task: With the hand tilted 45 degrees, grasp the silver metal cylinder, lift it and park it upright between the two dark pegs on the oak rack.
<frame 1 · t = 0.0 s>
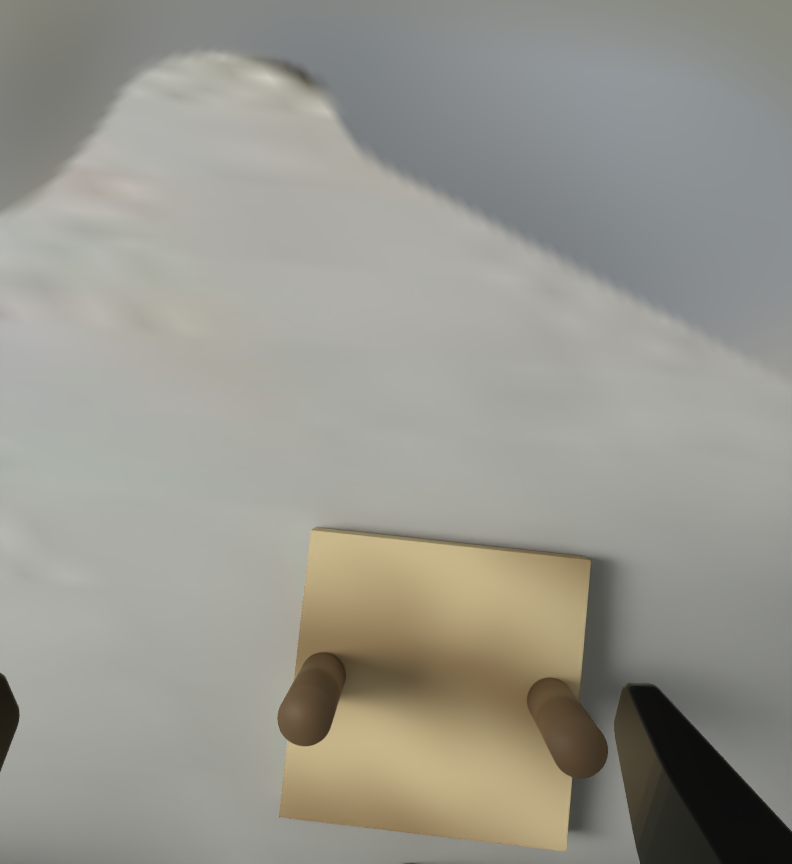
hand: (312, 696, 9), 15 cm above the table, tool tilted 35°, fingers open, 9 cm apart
peg rack: (434, 677, 24), on the table
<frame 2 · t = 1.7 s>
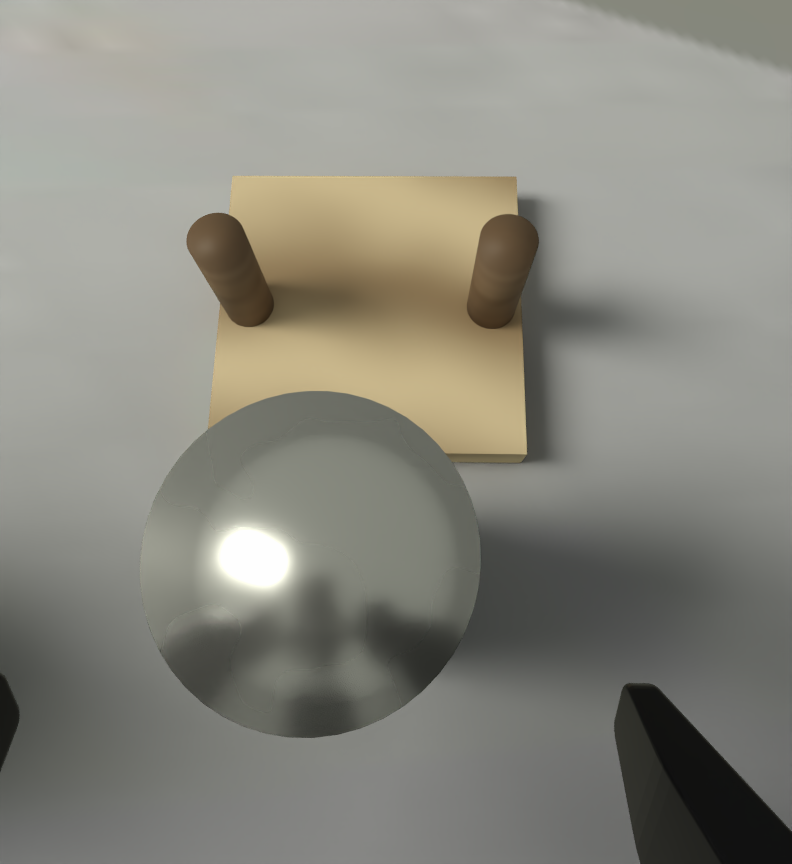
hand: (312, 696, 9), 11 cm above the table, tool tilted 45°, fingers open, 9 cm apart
peg rack: (371, 321, 23), on the table
silver metal cylinder: (365, 586, 20), on the table
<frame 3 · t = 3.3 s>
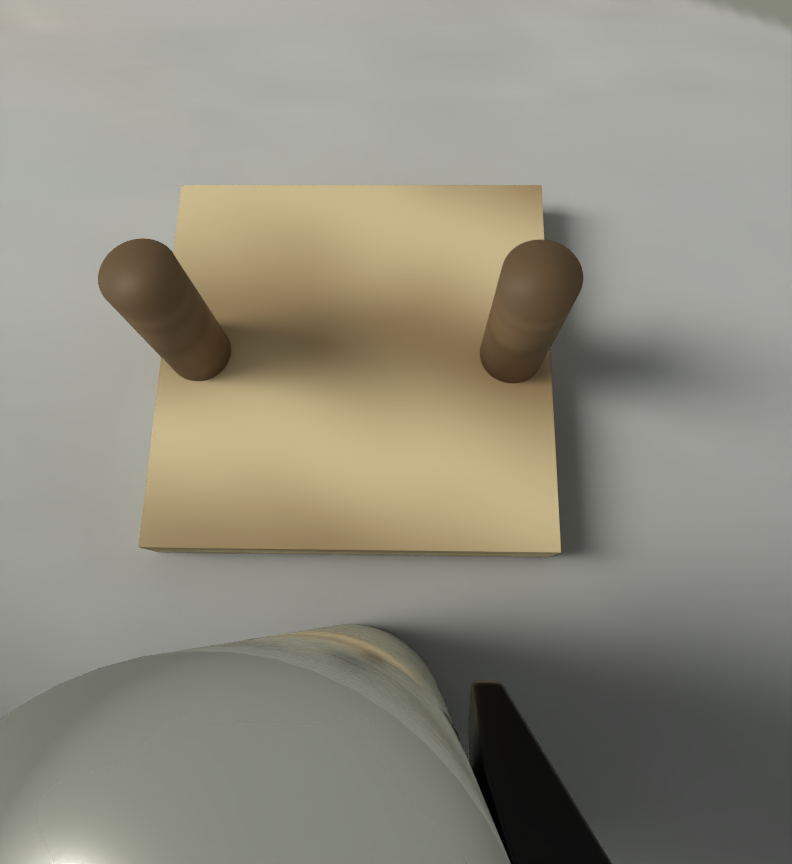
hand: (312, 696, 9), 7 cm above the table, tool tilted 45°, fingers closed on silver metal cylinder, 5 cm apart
peg rack: (358, 369, 18), on the table
silver metal cylinder: (348, 725, 15), on the table, touching gripper
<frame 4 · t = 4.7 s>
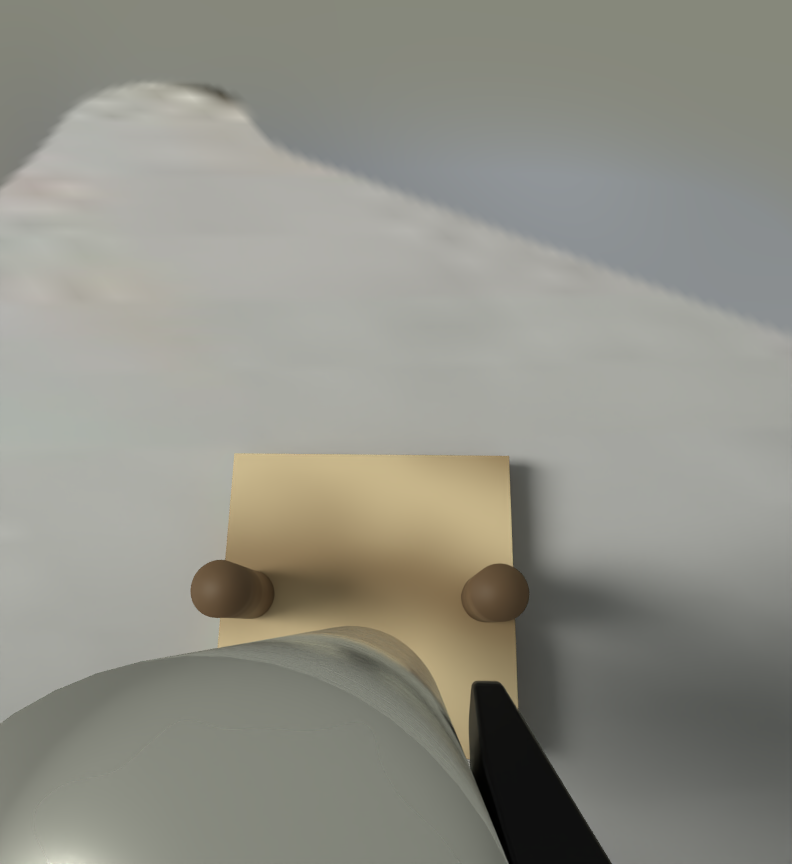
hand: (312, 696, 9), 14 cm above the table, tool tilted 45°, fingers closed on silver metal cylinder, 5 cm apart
peg rack: (369, 597, 23), on the table
silver metal cylinder: (348, 726, 15), point 7 cm above the table, touching gripper
when the fingers open (9 cm above the table, at t = 6.3 s): silver metal cylinder drops 1 cm, resting on peg rack.
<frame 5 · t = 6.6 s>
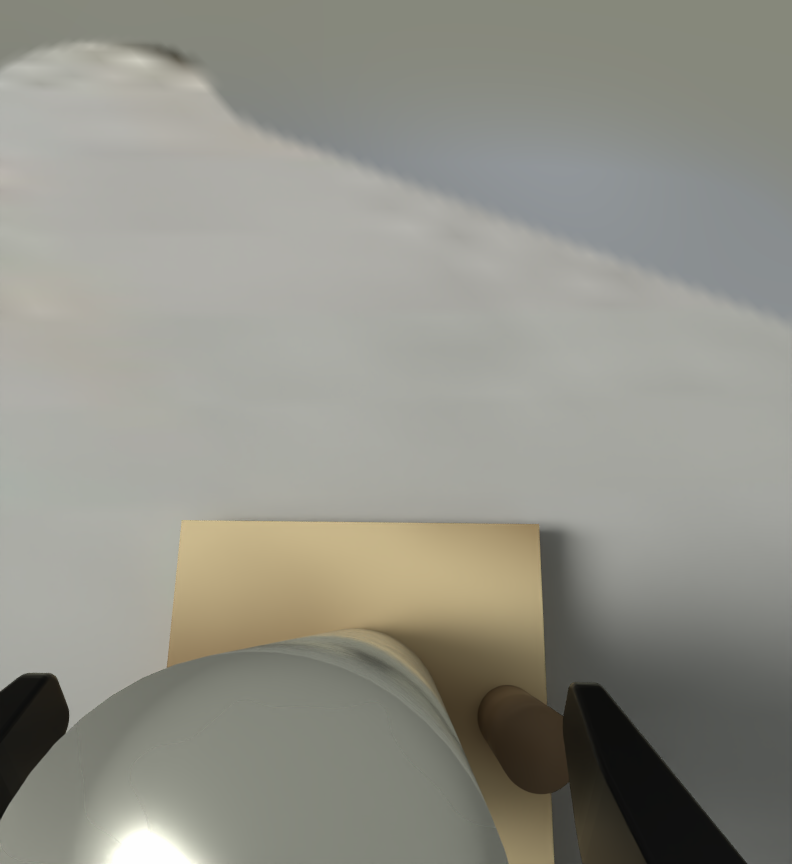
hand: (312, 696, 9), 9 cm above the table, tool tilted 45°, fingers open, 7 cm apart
peg rack: (357, 708, 18), on the table
silver metal cylinder: (353, 721, 17), point 1 cm above the table, touching peg rack
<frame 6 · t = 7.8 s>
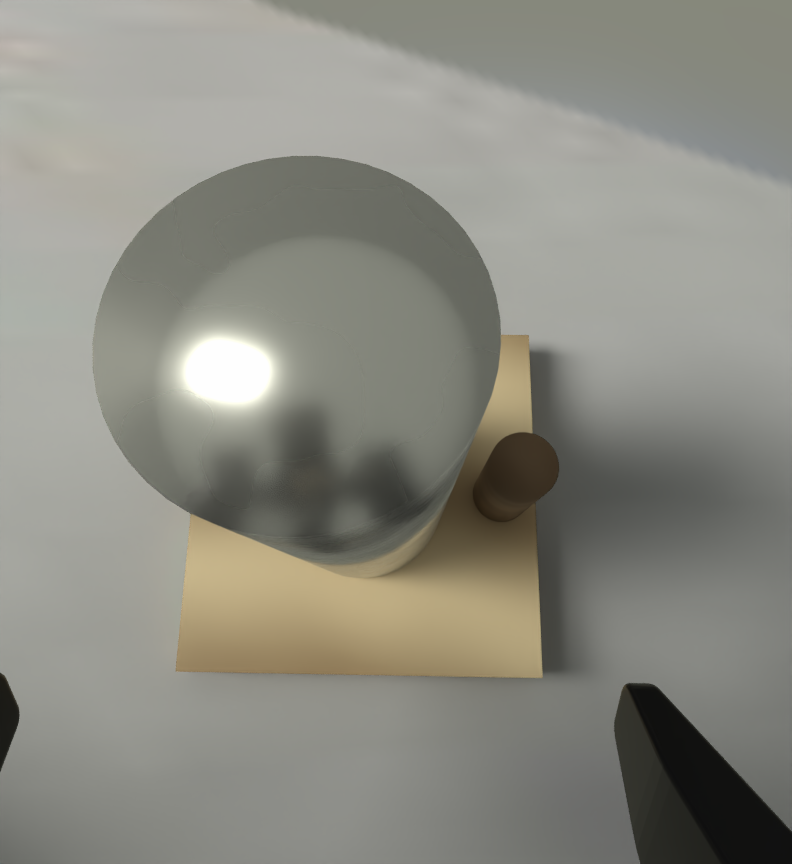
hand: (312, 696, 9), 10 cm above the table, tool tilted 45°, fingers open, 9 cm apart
peg rack: (365, 499, 20), on the table
silver metal cylinder: (363, 497, 19), point 1 cm above the table, touching peg rack
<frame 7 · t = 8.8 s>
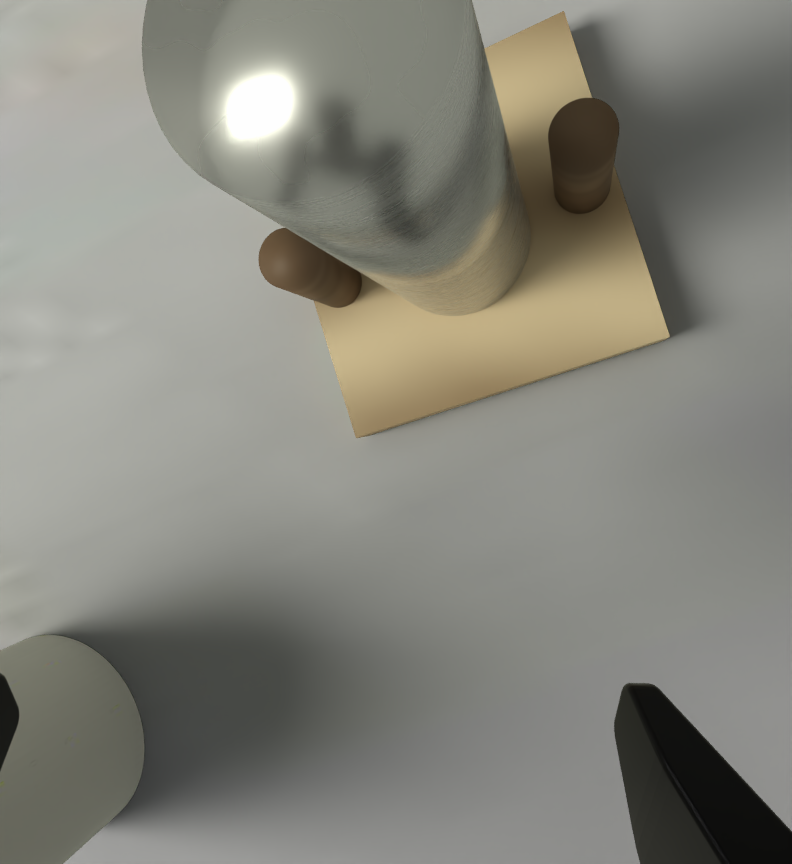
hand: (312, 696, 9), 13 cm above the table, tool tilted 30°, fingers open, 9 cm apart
peg rack: (460, 245, 21), on the table
silver metal cylinder: (455, 241, 20), point 1 cm above the table, touching peg rack
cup: (63, 729, 27), on the table
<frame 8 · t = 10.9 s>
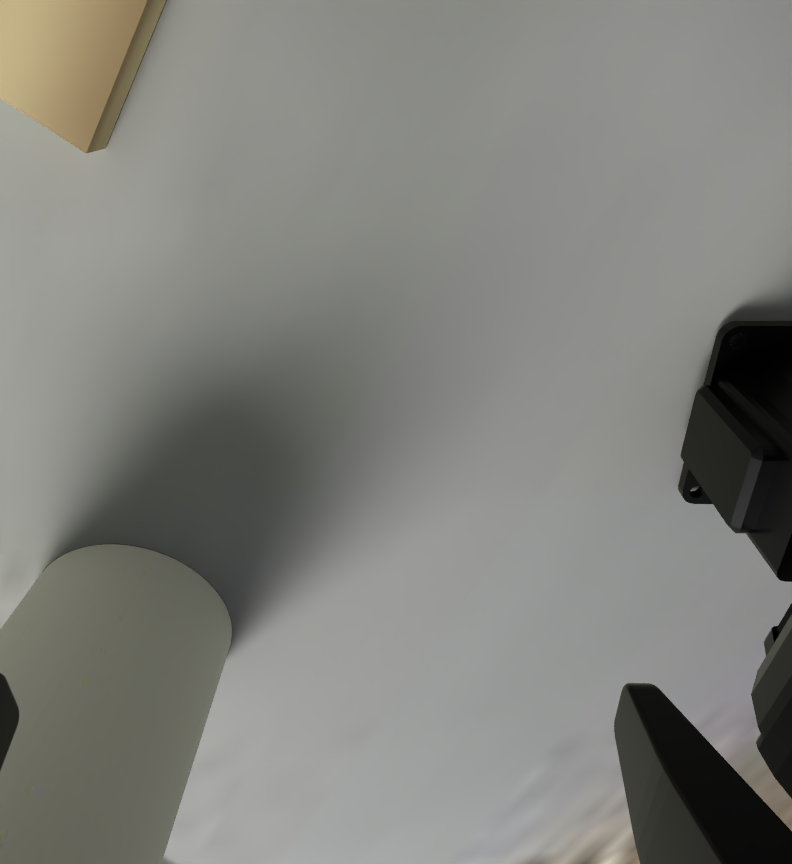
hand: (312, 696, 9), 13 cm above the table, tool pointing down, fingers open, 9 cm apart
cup: (135, 618, 27), on the table
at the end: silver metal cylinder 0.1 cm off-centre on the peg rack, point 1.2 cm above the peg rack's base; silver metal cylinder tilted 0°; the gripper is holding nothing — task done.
